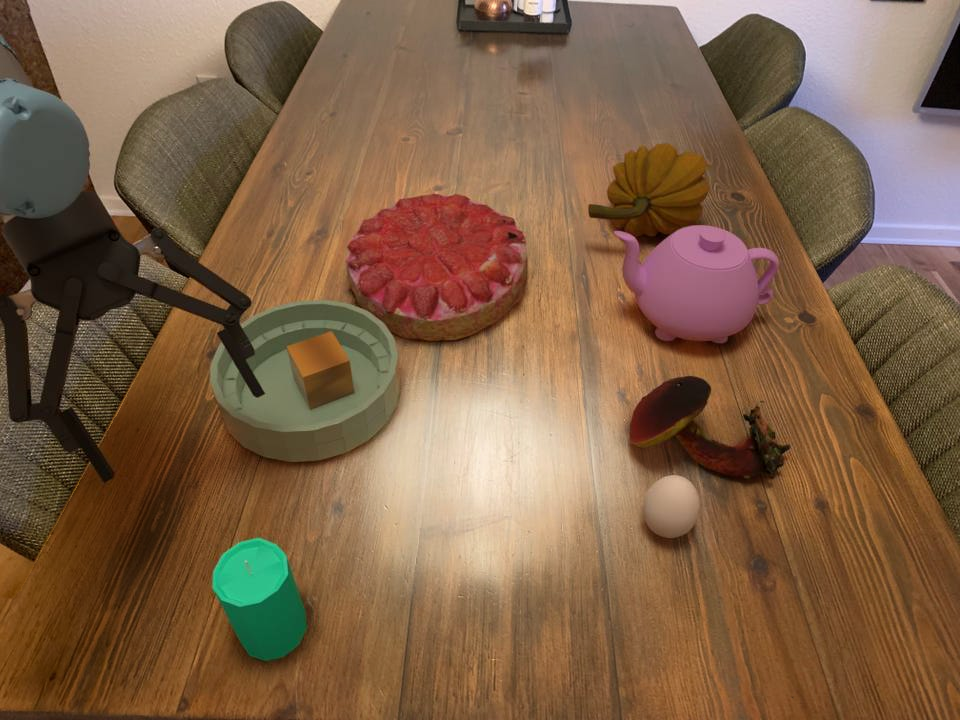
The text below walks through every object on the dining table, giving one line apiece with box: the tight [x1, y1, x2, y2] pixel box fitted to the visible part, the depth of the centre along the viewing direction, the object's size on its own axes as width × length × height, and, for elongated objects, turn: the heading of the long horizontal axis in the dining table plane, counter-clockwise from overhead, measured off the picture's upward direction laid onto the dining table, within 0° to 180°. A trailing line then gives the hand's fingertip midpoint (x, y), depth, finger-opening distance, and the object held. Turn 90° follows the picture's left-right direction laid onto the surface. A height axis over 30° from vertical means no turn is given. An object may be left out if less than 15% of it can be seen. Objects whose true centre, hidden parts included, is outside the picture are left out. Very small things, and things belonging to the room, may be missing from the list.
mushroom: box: [628, 375, 791, 480], centre depth 78 cm, size 12×12×15 cm
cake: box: [345, 192, 529, 342], centre depth 97 cm, size 25×25×8 cm
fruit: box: [587, 142, 710, 238], centre depth 105 cm, size 14×16×20 cm
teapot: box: [613, 224, 780, 344], centre depth 91 cm, size 22×16×14 cm
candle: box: [211, 537, 308, 662], centre depth 60 cm, size 6×6×12 cm
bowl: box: [209, 299, 402, 463], centre depth 82 cm, size 21×21×6 cm
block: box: [286, 331, 354, 410], centre depth 82 cm, size 6×6×6 cm
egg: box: [641, 474, 701, 539], centre depth 70 cm, size 5×5×8 cm
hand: (187, 435), depth 61 cm, fingers open, 13 cm apart
